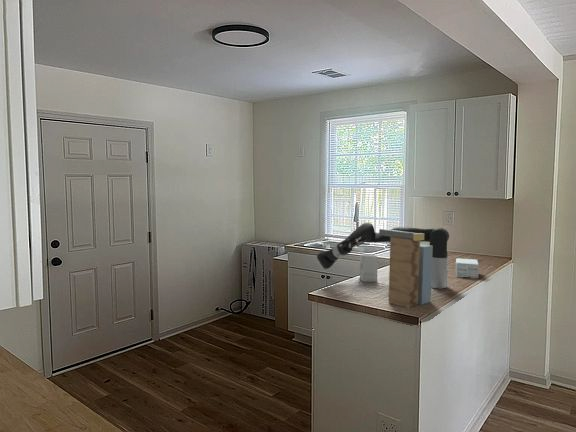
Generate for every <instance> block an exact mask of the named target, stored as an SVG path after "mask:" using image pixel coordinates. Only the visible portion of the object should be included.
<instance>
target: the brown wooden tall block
mask: <svg viewBox="0 0 576 432" xmlns="http://www.w3.org/2000/svg"><path fill="white" fill-rule="evenodd" d="M389 243H390V244H389V247H390V248H389V270H388V271H389V272H388V273H389V274H388V278H389V279H388V303H391V304H394V305H397V306H401V307H404V308H407V307H408V309H410V308H413V306H414V307H417V305H418V306H419V304H418V287H419V258H420V244H421V242H420V240H419V241H414V240H410V239H403V238H396V237H390V242H389ZM409 307H410V308H409Z"/></svg>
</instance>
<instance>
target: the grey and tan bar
mask: <svg viewBox="0 0 576 432" xmlns="http://www.w3.org/2000/svg"><path fill="white" fill-rule="evenodd" d="M378 233H379V235H382V236H389V237H396V238H403V239H410V240H414V241H419V240H424V233H413V232H405V231H396V230H391V229H389V228H386V229H385V228H379V230H378Z"/></svg>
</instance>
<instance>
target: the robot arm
mask: <svg viewBox="0 0 576 432" xmlns="http://www.w3.org/2000/svg"><path fill="white" fill-rule="evenodd" d="M390 230H396V231H405V232H413V233H424V240H420V243H421V242H422V243H424V242H428V243H429V245H430V246H433V253H432V279H431V289H437V288H438V290H439V289H441V290H442V289H443V288H444V289H446V288H447V287H448V271H449V270H448V255H449V254H448V240H449V239H450V234H449V231H448V230H447V229H445V228H443V227H442V228H441V227H436V228H419V227H409V226H408V227H407V226H396V227H392V228H391V229H390ZM364 243H368V244H369V243H370V244H373V243H390V237H389V236H382V235H379V232H376V231H375V227H374V225H373V223H372V222H363V223H362V224H360V225H359V226H358V227H357V228H356V229H355V230H354V231H352V232H351V233H350V234H349V235H348V236H347V237H346V238H344V239H343V240H342V241H341V242H338V243H337V244H335V245H334V246H333V247H331V248H330V249H328V250H327V249H326V250H322V251H319V252H318V254H317V255H316V259H317V261H318V262H319V263H320V265H321V266H322V269H324V270H328V269H330V268H331V267H332V266H333V265H334V264H335V263H336V261H338V260H339V259H341V258H343V257H345V256H346V255H348V254H350V253H352V251H353V248H355V247H360V246H361V245H363V244H364Z"/></svg>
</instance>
